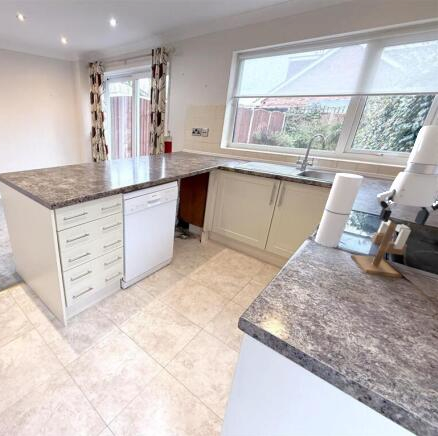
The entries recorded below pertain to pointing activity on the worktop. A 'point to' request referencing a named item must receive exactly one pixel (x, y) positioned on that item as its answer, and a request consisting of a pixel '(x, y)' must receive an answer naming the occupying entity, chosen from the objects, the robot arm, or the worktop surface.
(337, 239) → the cylindrical container
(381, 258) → the stand
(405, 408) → the worktop surface
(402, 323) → the worktop surface
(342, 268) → the worktop surface
